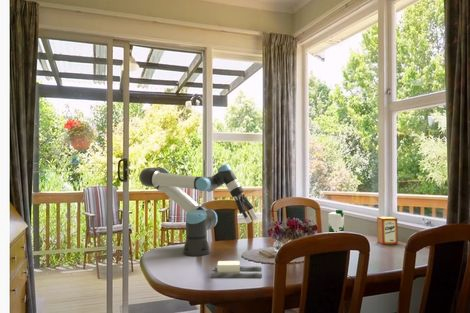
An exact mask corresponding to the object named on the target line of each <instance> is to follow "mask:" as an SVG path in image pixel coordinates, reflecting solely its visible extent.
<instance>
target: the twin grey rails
mask: <svg viewBox="0 0 470 313" xmlns="http://www.w3.org/2000/svg"><path fill="white" fill-rule="evenodd" d="M262 270H263V269H262V266H251V265H250V266H246V265H245V266H243V265H242V266H240V273H218V270H217V265H216V266H214V271H215V272H212V273H211V277H212V278H218V279H219V278H222V279H223V278H228V279H229V278H230V279H231V278H233V279H234V278H235V279H236V278H239V279H240V278H242V279H243V278H247V279H249V278H250V279H251V278H253V279H256V278H257V279H258V278H260V279H261V278H263V273H262ZM216 271H217V272H216Z"/></svg>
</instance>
